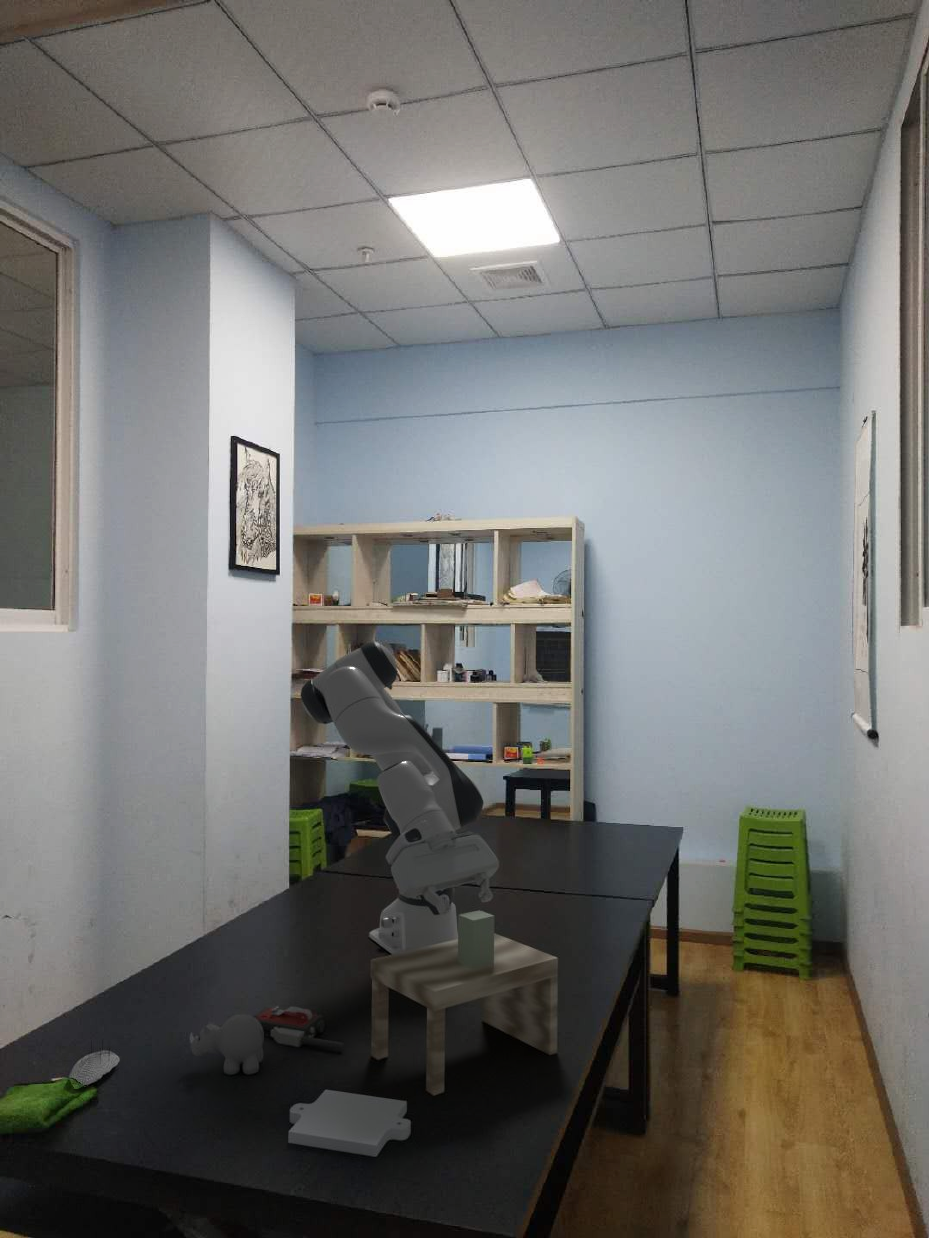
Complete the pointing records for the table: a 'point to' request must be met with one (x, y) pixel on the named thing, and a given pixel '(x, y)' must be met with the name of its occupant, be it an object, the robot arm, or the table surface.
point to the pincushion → (94, 1066)
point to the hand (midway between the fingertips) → (467, 905)
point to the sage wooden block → (476, 939)
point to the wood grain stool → (469, 995)
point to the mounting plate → (349, 1122)
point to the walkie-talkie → (293, 1026)
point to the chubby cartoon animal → (233, 1043)
